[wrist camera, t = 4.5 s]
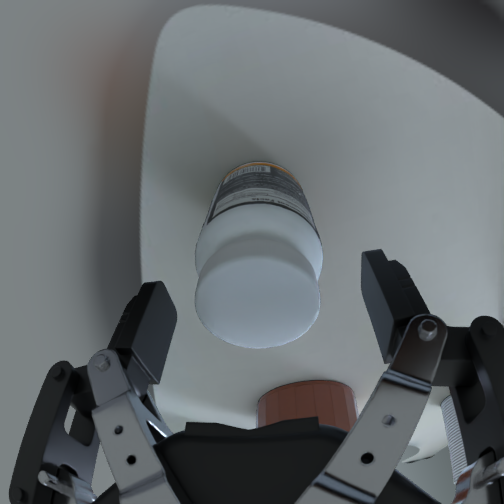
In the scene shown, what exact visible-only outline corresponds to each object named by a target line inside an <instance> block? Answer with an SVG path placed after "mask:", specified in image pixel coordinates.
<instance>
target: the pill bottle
mask: <svg viewBox="0 0 504 504" xmlns="http://www.w3.org/2000/svg"><path fill="white" fill-rule="evenodd" d="M322 261H323V250H322V243H321V240H320V237H319V234H318V232H317V229H316V226H315V224H314V220H313V217H312V214H311V211H310V208H309V205H308V203H307V200H306V198H305V195H304V193H303V190H302V188H301V186H300V184H299V183H298V181H297V180H296V178H295V177H294V176H293V175H292V174H291V173H290V172H289V171H287V170H286V169H284V168H282V167H280V166H278V165H275V164H272V163H268V162H252V163H247V164H244V165H241V166H239V167H237V168H235V169H234V170H232V171H231V172H230V173H229V174H227V175H226V176H225V178H224V179H223V180H222V181H221V183H220V185H219V187H218V189H217V191H216V193H215V195H214V198H213V200H212V202H211V205H210V208H209V211H208V214H207V217H206V220H205V222H204V224H203V227H202V230H201V233H200V236H199V239H198V242H197V244H196V250H195V264H196V270H197V273H198V276H199V279H198V284H197V288H196V293H195V307H196V312H197V314H198V317H199V319H200V321H201V322H202V324H203V325H204V326H205V327H206V328H207V329H208V330H209V331H210V332H211V333H212V334H213V335H215V336H216V337H218V338H220V339H222V340H223V341H225V342H228V343H230V344H233V345H237V346H241V347H246V348H271V347H276V346H280V345H283V344H286V343H288V342H291V341H293V340H295V339H296V338H298V337H300V336H301V335H302V334H304V333H305V332H306V331H307V330H308V329H309V328H310V327H311V326H312V324H313V323H314V322H315V320H316V318H317V316H318V313H319V309H320V291H319V286H318V282H317V280H318V278H319V276H320V273H321V269H322Z"/></svg>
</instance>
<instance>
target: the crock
mask: <svg viewBox="0 0 504 504" xmlns="http://www.w3.org/2000/svg"><path fill="white" fill-rule="evenodd" d="M315 416H318V418H319V424H325V425H330V426H335V427H338V428H341V429H343V430H346V431H348V432H349V431H350V430H351V428H352V427H353V425H354V423H355V422H356V420H357V419H358V417H359V413H358V407H357V402H356V397H355V395H354V392H353V390H352V389H351V388H350V387H348V386H347V385H344V384H342V383H338V382H333V381H321V380H316V381H303V382H297V383H292V384H288V385H284V386H281V387H278V388H276V389H274V390H271V391H270V392H268V393H266V394H265V395H263V396H262V397H261V398H260V400H259V401H258V404H257V410H256V428H259V427H262V426H266V425H269V424H273V423H276V422H279V421H282V420H288V419H298V418H307V417H315Z"/></svg>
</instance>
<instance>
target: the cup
mask: <svg viewBox="0 0 504 504" xmlns="http://www.w3.org/2000/svg"><path fill="white" fill-rule="evenodd" d="M441 409H442V414H443V418H444V423H445V428H446V433H447V439H448V445H449V450H450V456H451V464H452V471H453V479H454V484H456V483H457V480H458V477H459V475H460V474H461V472H462V471H463V470H464V469H465V468H466V467H467V461H466V456H465V451H464V446H463V441H462V436H461V432H460V428H459V423H458V419H457V415H456V411H455V408H454V404H453V400H452V397H451V395H450V396H449V397H447V398H446V399H445V400H444V401H443V402H442V404H441Z"/></svg>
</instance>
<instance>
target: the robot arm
mask: <svg viewBox="0 0 504 504" xmlns="http://www.w3.org/2000/svg"><path fill="white" fill-rule="evenodd" d="M361 290H362V295H363V299H364V302H365V305H366V308H367V311H368V314H369V316H370V319H371V322H372V325H373V329H374V332H375V335H376V338H377V341H378V344H379V347H380V351H381V354H382V357H383V361H384V364H387V363H390V365H389V367H388V369H387V371H386V372H384V373H383V374H382V376H381V378H380V380H379V381H378V383H377V385H376V387H375V389H374V391H373V393H372V394H371V396H370V398H369V400H368V402H367V403H366V405H365V407H364V409H363V410H362V412H361V414H360V415H359V417H358V419H357V420H356V422H355V423H354V425H353V427H352V428H351V430H350V431H349V432H348V431H346V430H343V429H341V428H338V427H335V426H330V425H325V424H319V418H318V416H315V417H307V418H298V419H288V420H282V421H279V422H276V423H273V424H269V425H266V426H262V427H259V428H255V429H251V430H247V429H241V428H237V427H232V426H228V425H224V424H219V423H199V422H186V427H185V431H181V432H178V433H175V434H173V433H172V432H171V431H170V429H169V428H168V426H167V425H166V423H165V421H164V420H163V418H162V416H161V414H160V412H159V410H158V408H157V407H156V405H155V403H154V401H153V399H152V397H151V395H150V393H149V392H148V391H147V388H148V385H149V384H159V383H160V380H161V376H162V372H163V368H164V365H165V361H166V357H167V354H168V350H169V347H170V343H171V339H172V336H173V332H174V329H175V326H176V322H177V311H176V308H175V306H174V304H173V302H172V300H171V298H170V295H169V293H168V291H167V289H166V287H165V285H164V283H163V282H162V281H154V282H147V283H143V285H142V287H141V289H140V291H139V293H138V295H137V296H134V297H133V299H132V300H131V301H130V302H129V303H128V304H127V306H126V308H125V310H124V312H123V315H122V316H121V319H120V323H118V325H117V327H116V329H115V332H114V334H113V336H112V338H111V341H110V343H109V345H108V348H107V349H103V350H100V351H98V352H97V353H95V354H94V355H93V356H92V357H91V359H90V360H89V363H88V365H86V366H82V367H78V368H74V367H73V366H72V365H71V364H70V363H69V362H68V361H60V362H57V363H56V364H55V365H53V366H52V367H51V369H50V370H49V372H48V374H47V376H46V379H45V381H44V383H43V385H42V388H41V390H40V393H39V396H38V398H37V401H36V403H35V406H34V408H33V412H32V414H31V417H30V420H29V422H28V425H27V428H26V431H25V434H24V437H23V440H22V443H21V447H20V450H19V453H18V457H17V460H16V464H15V468H14V472H13V476H12V480H11V484H10V488H9V499H10V502H11V504H441V503H440V502H438V501H437V500H436V499H434V498H433V497H432V496H430V495H429V494H428V493H426V492H425V491H424V490H422V489H421V488H420V487H418V486H417V485H416V484H414V483H413V482H412V481H410V480H409V479H408V478H406V477H405V476H404V475H402V474H401V473H400V472H399V471H398V470H396V469H395V468H396V466H397V464H398V462H399V460H400V459H401V457H402V455H403V453H404V451H405V449H406V447H407V445H408V443H409V441H410V439H411V437H412V435H413V433H414V431H415V428H416V426H417V424H418V422H419V420H420V417H421V415H422V413H423V410H424V408H425V405H426V403H427V400H428V398H429V395H430V392H431V389H432V387H431V386H448V387H449V390H450V393H451V397H452V400H453V404H454V408H455V411H456V415H457V419H458V423H459V428H460V432H461V436H462V441H463V446H464V451H465V456H466V461H467V467H466V468H465V469H464V470H463V471H462V472H461V474H460V475H459V477H458V480H457V483H456V494H455V498H454V500H453V502H452V503H451V504H504V328H503V326H502V325H501V323H500V322H499V321H498V320H496V319H495V318H493V317H490V316H480V317H477V318H475V319H474V320H473V322H472V323H471V325H470V327H450V326H446V324H445V323H444V321H443V320H442V319H440V318H439V317H437V316H435V315H432V314H430V312H429V310H428V308H427V306H426V304H425V302H424V300H423V298H422V296H421V295H420V293H419V291H418V289H417V287H416V286H415V284H414V282H413V280H412V278H410V275H409V273H408V271H407V270H406V268H405V267H404V266H403V265H402V264H400V263H399V262H398V261H396V260H391V261H388V260H387V258H386V256H385V254H384V252H383V251H382V250H381V249H377V250H371V251H365V252H362V261H361ZM70 405H71V406H72V407H73V408H74V409H75V410H76V412H75V415H74V419H73V422H72V425H71V429H70V432H69V435H68V434H67V433H66V431H65V428H64V422H65V419H66V416H67V412H68V409H69V406H70ZM100 442H101V445H102V448H103V451H104V454H105V456H106V459H107V462H108V464H109V467H110V469H111V472H112V474H113V476H114V479H115V481H116V482H115V483H114V484H113V485H112V486H111V487H110V488H108V489H107V490H106V491H105V492H104V493H102V494H101V495H100V496H99V497H98V498H97V496H96V495H95V494H93V490H92V488H91V483H92V478H93V472H94V468H95V463H96V457H97V453H98V449H99V444H100Z"/></svg>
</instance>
